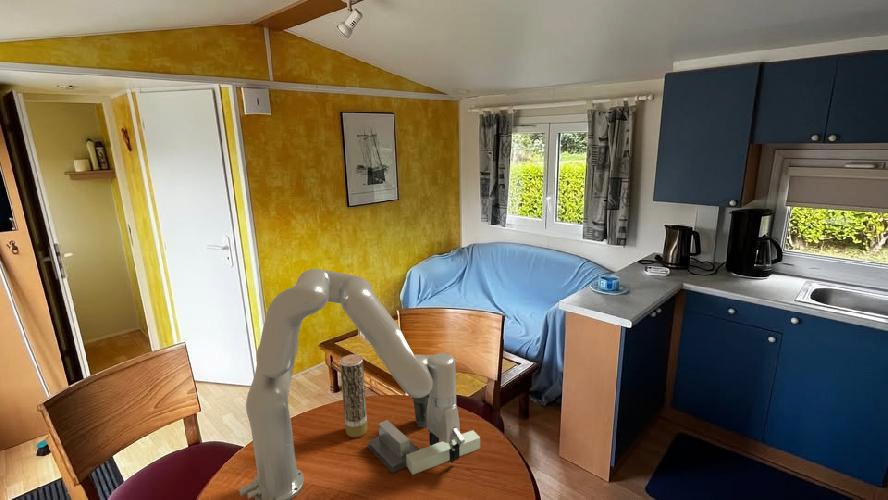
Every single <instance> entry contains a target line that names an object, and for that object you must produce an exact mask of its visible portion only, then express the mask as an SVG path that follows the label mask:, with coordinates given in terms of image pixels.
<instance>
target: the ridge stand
mask: <svg viewBox="0 0 888 500" xmlns="http://www.w3.org/2000/svg"><path fill="white" fill-rule="evenodd" d="M378 434H379V435H378V436H377V437H374V438H373V439H370V440H368V441H367V448H368V449H369V451H371V453H372V454H373V455H374V456H376V457H377V459H378V460H379V461H380V462H381V463H382V464H383V465H384V466H385V467H386V468H387V469H388V470H389V471H390V472H391V473H392V474H394V473H395V472H398V471H399V470H401V469H404V468H405V467H407V463H406V454H409V453H412V452H415V451H417V450H420V448H419V447H418V446H417V445H416V444H415V443H413V442H412V441H411V440H410V438H409V437H407V436H406V435H405V434H404V433H403V432H402V431H400V430H399V429H398V428H397V427H396V426H395V425H394V424H392V423H391V422H390V421H389V420H388V419H386V420H384V421H381V422H380V423H378Z"/></svg>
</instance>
